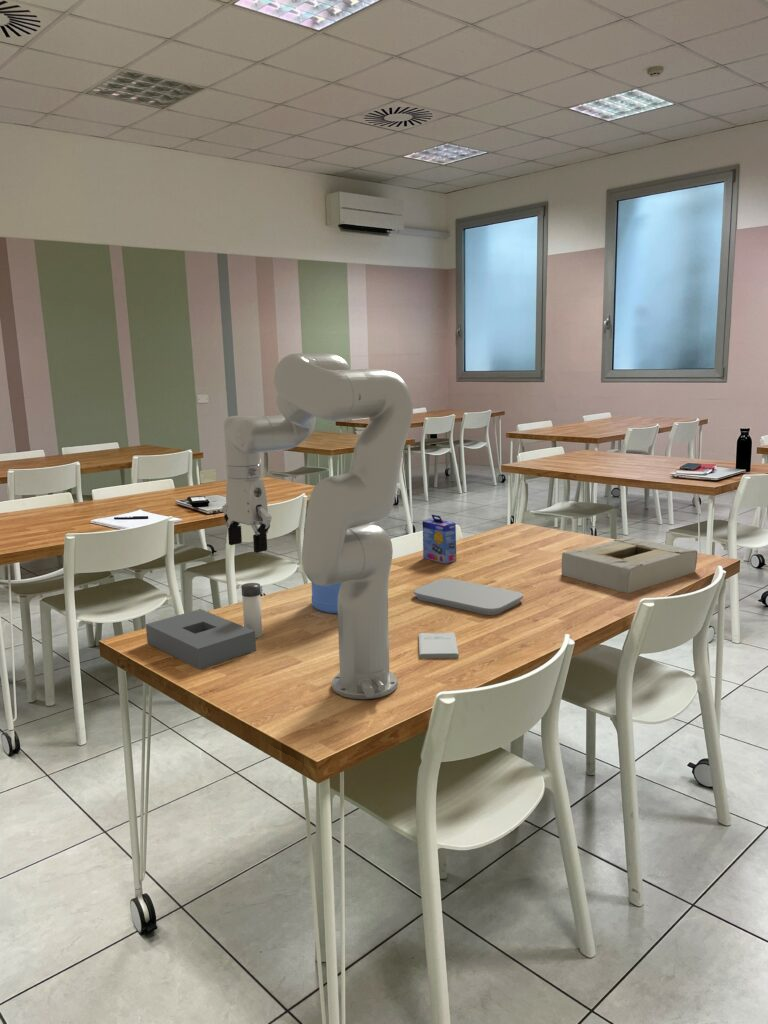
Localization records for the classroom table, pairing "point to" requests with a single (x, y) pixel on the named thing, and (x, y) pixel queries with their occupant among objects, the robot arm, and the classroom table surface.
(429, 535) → the ink cartridge box
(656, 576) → the box
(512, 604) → the tablet
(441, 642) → the external hard drive
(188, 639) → the socket block
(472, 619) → the classroom table surface
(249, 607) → the peg
